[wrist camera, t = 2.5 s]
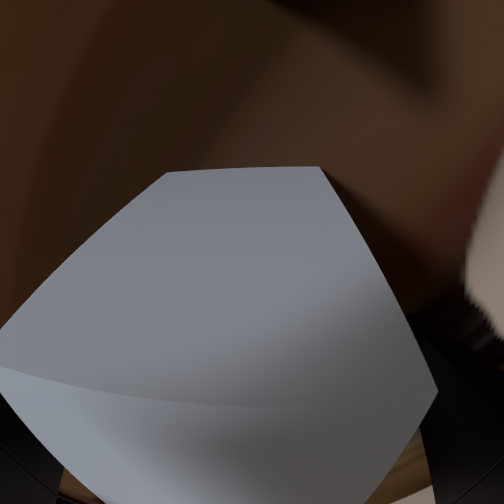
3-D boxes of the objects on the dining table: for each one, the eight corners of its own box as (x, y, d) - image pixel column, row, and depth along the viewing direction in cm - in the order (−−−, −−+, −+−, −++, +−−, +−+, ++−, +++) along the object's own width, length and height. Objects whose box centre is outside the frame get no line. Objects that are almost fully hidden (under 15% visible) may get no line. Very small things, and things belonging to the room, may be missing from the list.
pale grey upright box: (318, 166, 8) (438, 391, 2) (306, 380, 12) (315, 555, 5) (167, 172, 8) (-23, 358, 2) (204, 379, 12) (168, 547, 6)
